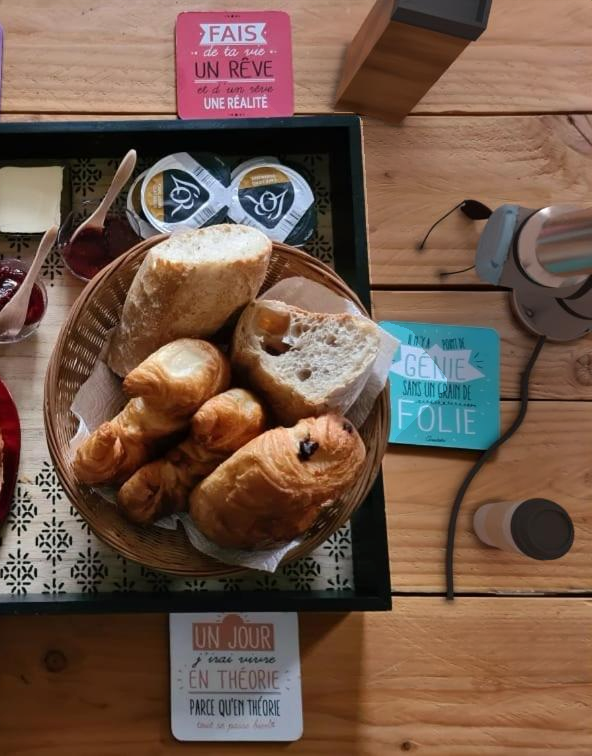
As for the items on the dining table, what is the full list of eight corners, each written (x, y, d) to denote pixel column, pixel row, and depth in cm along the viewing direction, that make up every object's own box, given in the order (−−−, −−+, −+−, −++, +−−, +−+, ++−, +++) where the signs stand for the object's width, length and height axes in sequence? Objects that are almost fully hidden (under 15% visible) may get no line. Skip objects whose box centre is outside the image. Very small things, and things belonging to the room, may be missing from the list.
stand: (399, 124, 130) (473, 39, 105) (333, 107, 130) (391, 18, 105) (413, 64, 131) (489, -34, 107) (348, 47, 132) (409, -54, 107)
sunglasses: (503, 248, 126) (517, 240, 121) (445, 288, 127) (457, 282, 122) (464, 200, 128) (477, 190, 123) (407, 240, 128) (417, 232, 123)
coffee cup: (485, 562, 119) (542, 573, 104) (455, 512, 120) (508, 516, 105) (532, 536, 119) (595, 543, 105) (502, 487, 121) (561, 487, 106)
